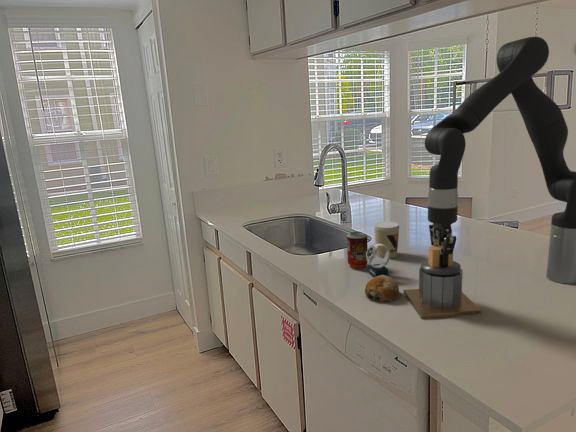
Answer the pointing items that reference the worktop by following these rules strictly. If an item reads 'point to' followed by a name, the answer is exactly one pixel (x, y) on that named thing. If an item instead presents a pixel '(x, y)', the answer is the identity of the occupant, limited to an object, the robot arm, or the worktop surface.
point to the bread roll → (382, 289)
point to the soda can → (357, 250)
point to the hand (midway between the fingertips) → (441, 264)
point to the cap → (433, 264)
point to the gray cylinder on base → (440, 296)
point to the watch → (377, 268)
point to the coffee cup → (386, 238)
